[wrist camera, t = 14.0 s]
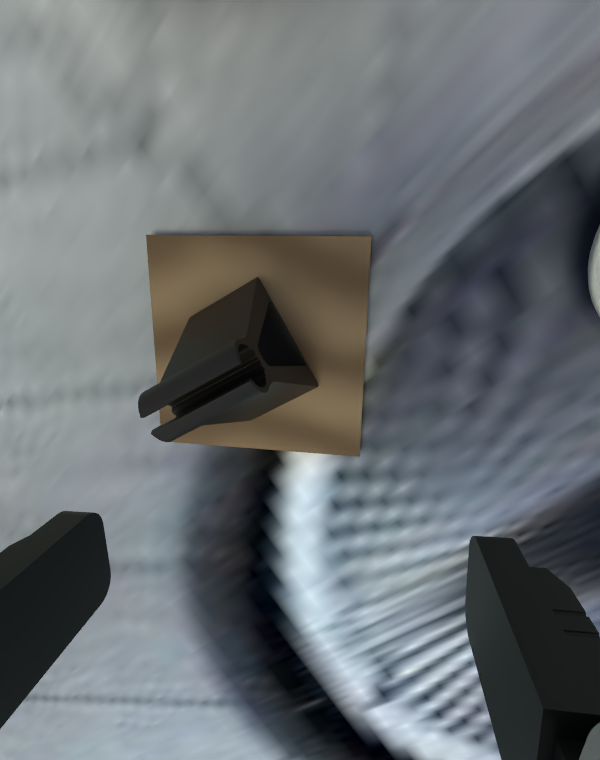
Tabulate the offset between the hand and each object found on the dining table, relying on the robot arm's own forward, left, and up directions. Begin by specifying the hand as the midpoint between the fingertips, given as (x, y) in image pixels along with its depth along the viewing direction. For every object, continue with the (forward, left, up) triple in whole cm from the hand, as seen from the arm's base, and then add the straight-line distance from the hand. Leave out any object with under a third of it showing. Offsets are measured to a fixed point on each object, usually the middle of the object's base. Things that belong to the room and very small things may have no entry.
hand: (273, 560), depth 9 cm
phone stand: (0, +6, -23) cm, 24 cm away
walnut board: (0, +6, -24) cm, 25 cm away
